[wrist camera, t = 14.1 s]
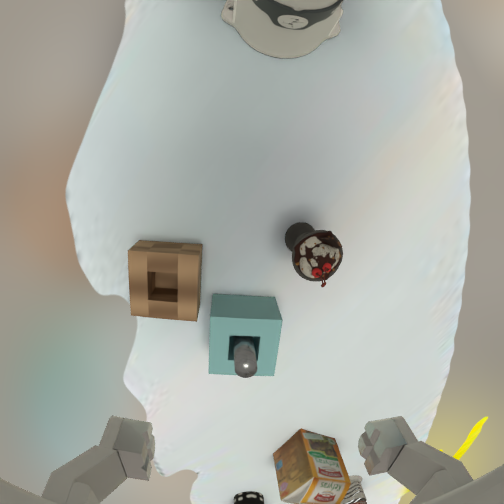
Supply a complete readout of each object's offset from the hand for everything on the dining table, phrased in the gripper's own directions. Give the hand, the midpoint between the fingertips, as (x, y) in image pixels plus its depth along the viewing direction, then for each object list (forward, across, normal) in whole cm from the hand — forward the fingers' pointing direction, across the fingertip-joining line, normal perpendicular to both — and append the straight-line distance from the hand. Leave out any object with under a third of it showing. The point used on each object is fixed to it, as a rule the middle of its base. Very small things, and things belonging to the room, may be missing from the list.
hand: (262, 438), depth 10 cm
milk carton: (+39, -19, +50) cm, 66 cm away
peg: (+38, -2, +16) cm, 41 cm away
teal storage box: (+39, -2, +16) cm, 42 cm away
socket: (+39, +10, +8) cm, 41 cm away
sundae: (+39, -10, +1) cm, 40 cm away
